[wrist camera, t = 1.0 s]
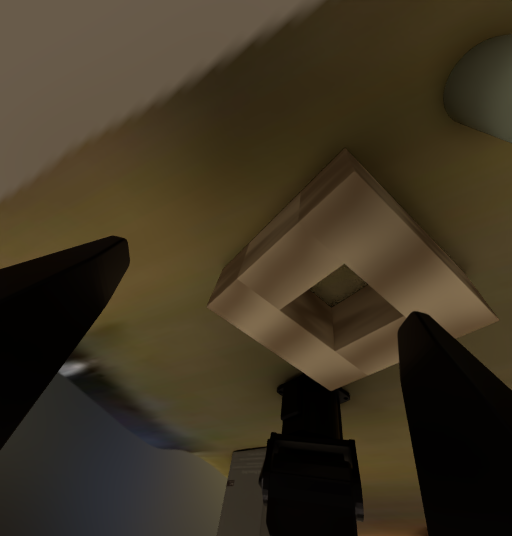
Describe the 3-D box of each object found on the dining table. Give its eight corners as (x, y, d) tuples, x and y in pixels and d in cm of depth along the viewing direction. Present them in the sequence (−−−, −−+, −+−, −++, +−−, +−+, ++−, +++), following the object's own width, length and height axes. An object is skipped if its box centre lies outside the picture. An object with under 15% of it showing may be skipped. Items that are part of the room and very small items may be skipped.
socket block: (465, 273, 22) (499, 320, 18) (328, 346, 29) (330, 391, 25) (345, 147, 18) (354, 170, 14) (222, 269, 25) (206, 306, 21)
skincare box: (269, 445, 46) (252, 590, 33) (291, 464, 48) (284, 604, 36) (230, 450, 49) (202, 582, 37) (253, 467, 52) (234, 595, 40)
